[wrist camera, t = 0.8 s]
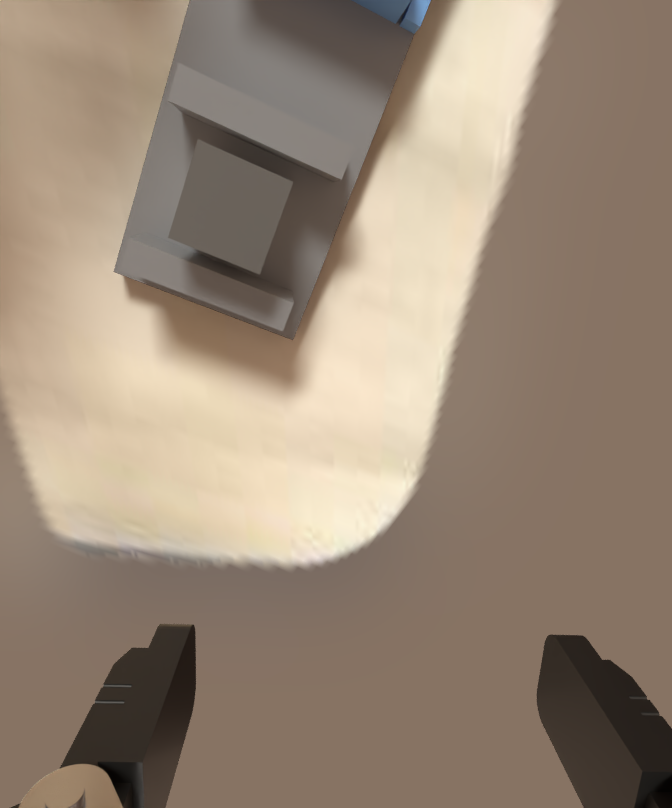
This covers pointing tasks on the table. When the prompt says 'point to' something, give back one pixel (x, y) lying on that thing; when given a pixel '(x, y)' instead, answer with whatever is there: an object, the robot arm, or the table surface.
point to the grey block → (229, 207)
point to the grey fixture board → (267, 139)
